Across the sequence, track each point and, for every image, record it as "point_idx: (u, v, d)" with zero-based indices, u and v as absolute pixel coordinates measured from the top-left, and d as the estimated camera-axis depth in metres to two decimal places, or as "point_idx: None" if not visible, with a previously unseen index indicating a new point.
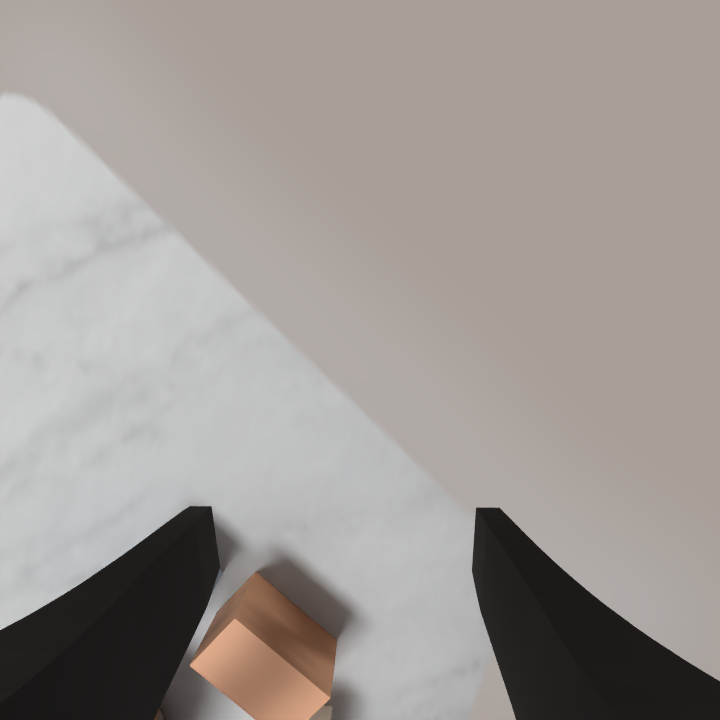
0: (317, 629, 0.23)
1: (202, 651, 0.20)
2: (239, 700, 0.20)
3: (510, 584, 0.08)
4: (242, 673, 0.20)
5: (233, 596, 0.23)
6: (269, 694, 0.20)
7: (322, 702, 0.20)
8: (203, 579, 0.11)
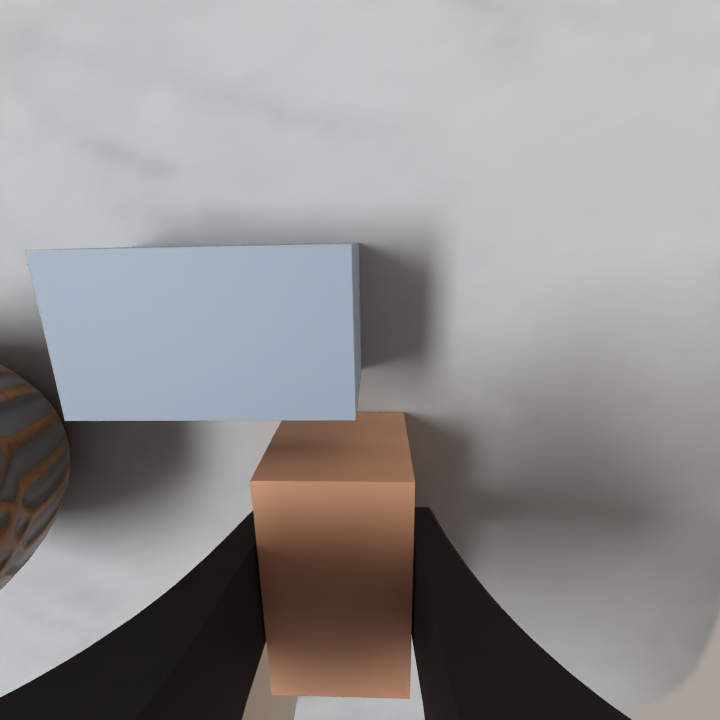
0: None
1: (295, 479, 0.09)
2: (273, 595, 0.09)
3: (419, 583, 0.09)
4: (324, 566, 0.09)
5: None
6: (329, 625, 0.10)
7: (392, 695, 0.10)
8: None
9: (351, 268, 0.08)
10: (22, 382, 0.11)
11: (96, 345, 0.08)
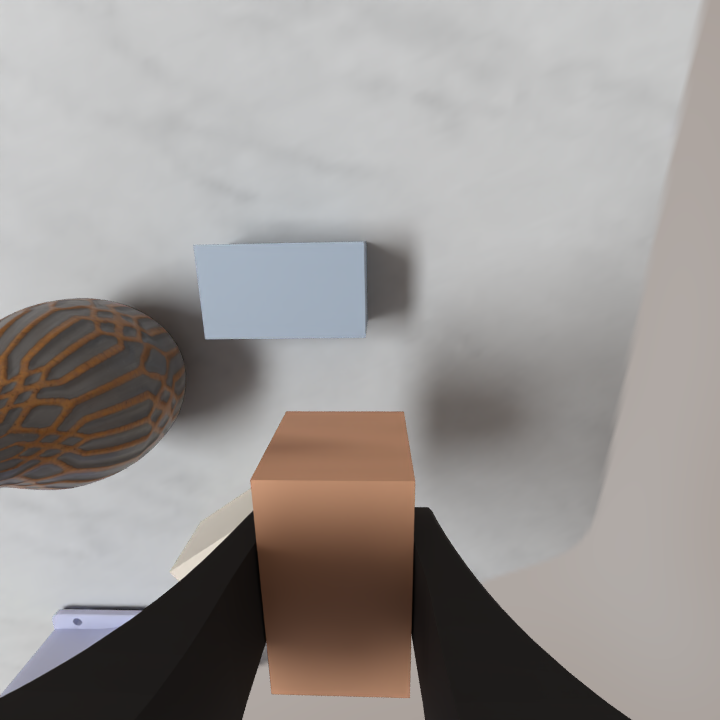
0: None
1: (295, 478, 0.09)
2: (273, 594, 0.09)
3: (419, 583, 0.09)
4: (324, 565, 0.09)
5: (341, 417, 0.12)
6: (329, 624, 0.10)
7: (392, 694, 0.10)
8: None
9: (363, 254, 0.14)
10: (161, 326, 0.18)
11: (227, 295, 0.15)
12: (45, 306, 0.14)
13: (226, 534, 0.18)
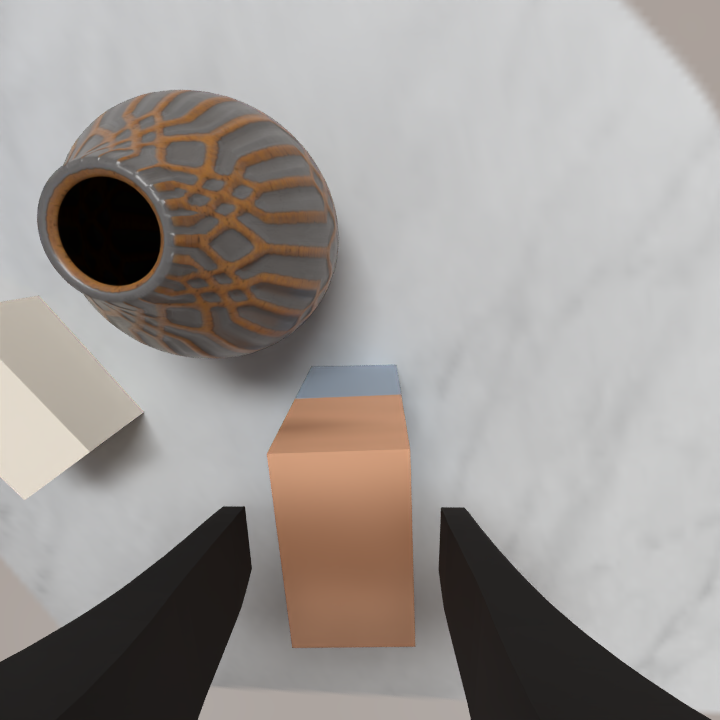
0: None
1: (305, 450, 0.10)
2: (290, 555, 0.11)
3: (465, 583, 0.08)
4: (334, 527, 0.10)
5: (344, 401, 0.13)
6: (341, 581, 0.11)
7: (399, 643, 0.11)
8: (238, 579, 0.10)
9: None
10: None
11: None
12: (331, 234, 0.11)
13: (34, 393, 0.14)
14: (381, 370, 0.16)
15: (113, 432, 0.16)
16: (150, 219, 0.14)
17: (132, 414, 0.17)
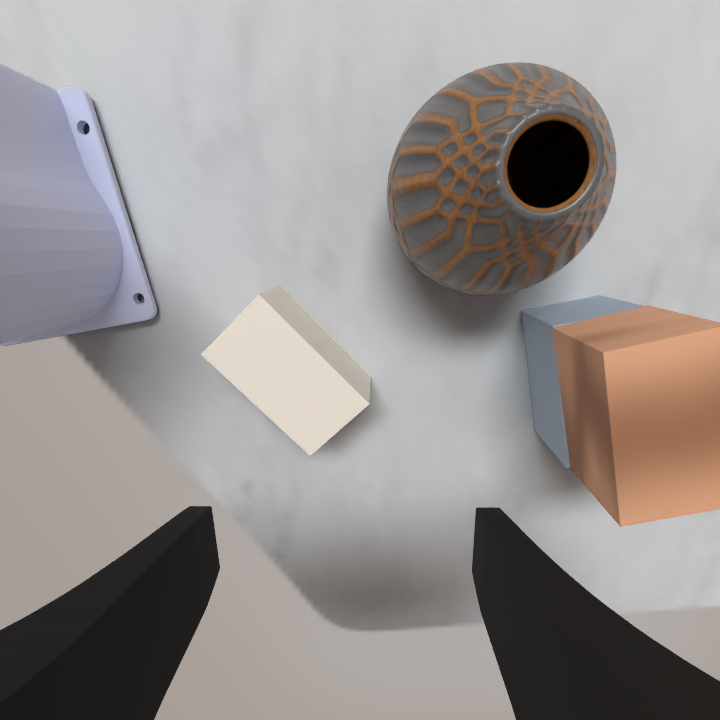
0: None
1: (634, 344, 0.12)
2: (621, 441, 0.13)
3: (510, 584, 0.08)
4: (660, 408, 0.12)
5: (603, 318, 0.15)
6: (665, 457, 0.13)
7: (718, 506, 0.13)
8: (203, 579, 0.11)
9: None
10: None
11: None
12: None
13: (323, 358, 0.16)
14: (593, 300, 0.18)
15: (369, 390, 0.18)
16: None
17: (367, 377, 0.19)
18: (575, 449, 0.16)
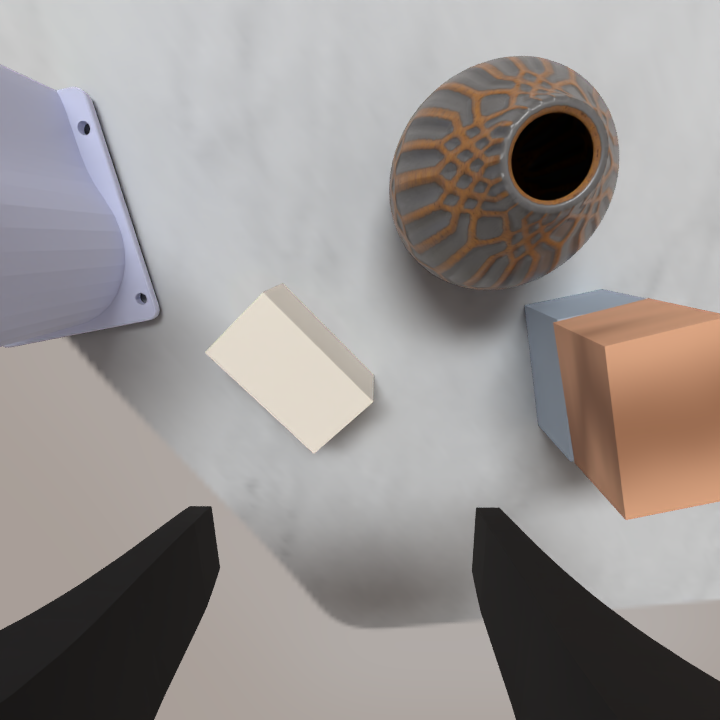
0: None
1: (635, 337, 0.12)
2: (624, 434, 0.13)
3: (510, 584, 0.08)
4: (663, 400, 0.12)
5: (604, 312, 0.15)
6: (669, 449, 0.13)
7: None
8: (203, 579, 0.11)
9: None
10: None
11: None
12: None
13: (327, 356, 0.16)
14: (596, 294, 0.18)
15: (372, 388, 0.18)
16: None
17: (370, 376, 0.19)
18: (579, 443, 0.16)
